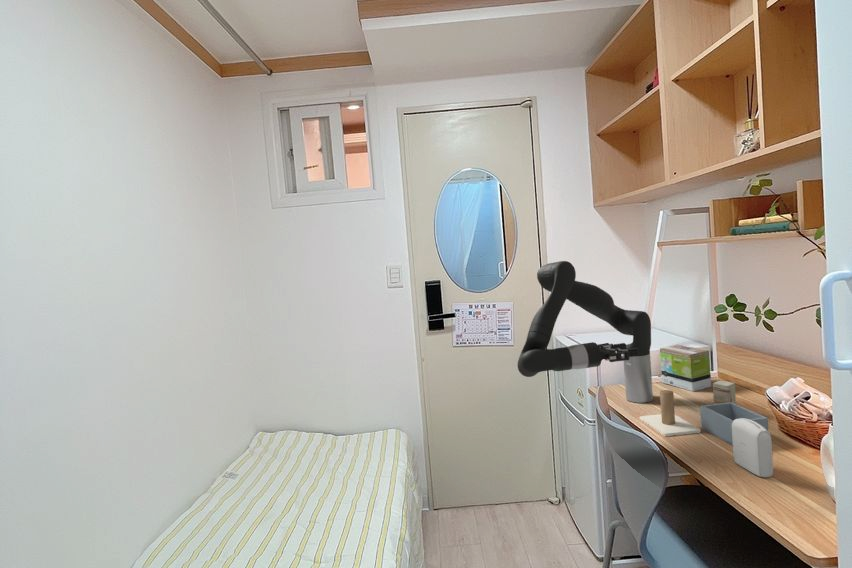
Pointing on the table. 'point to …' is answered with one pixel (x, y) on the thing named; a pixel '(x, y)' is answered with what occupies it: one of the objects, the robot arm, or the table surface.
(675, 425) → the lid
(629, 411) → the table surface
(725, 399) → the skincare box
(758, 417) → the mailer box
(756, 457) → the photo printer
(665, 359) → the tea box
